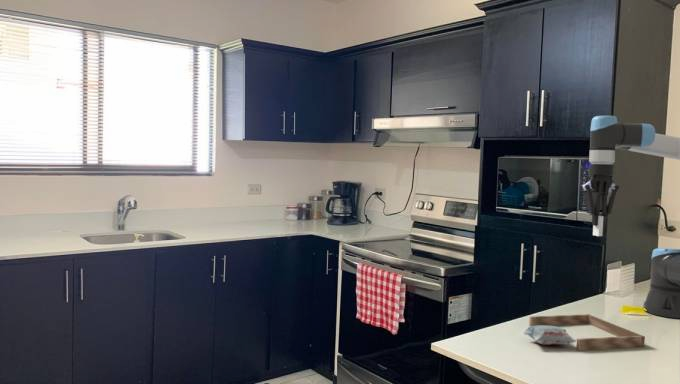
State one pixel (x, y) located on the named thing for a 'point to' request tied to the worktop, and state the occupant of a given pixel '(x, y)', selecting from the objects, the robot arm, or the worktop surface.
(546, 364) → the worktop surface
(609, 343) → the wooden frame
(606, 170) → the robot arm
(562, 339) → the packaged food
